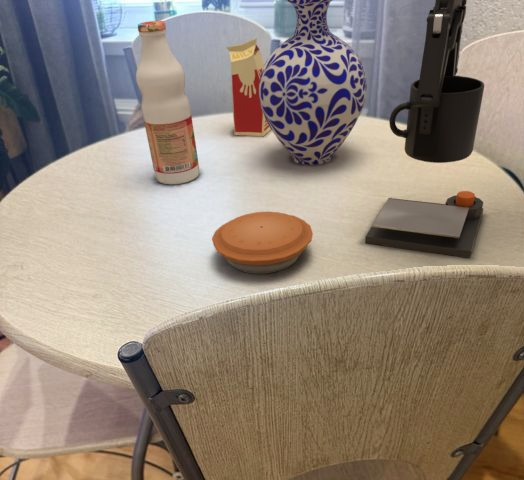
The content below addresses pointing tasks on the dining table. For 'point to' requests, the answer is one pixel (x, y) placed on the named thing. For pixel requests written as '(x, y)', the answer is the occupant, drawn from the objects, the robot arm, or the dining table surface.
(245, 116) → the milk carton
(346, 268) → the dining table surface
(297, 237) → the pie
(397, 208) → the scale pan
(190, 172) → the fruit juice
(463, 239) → the scale
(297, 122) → the vase
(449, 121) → the mug
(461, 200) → the tare button
